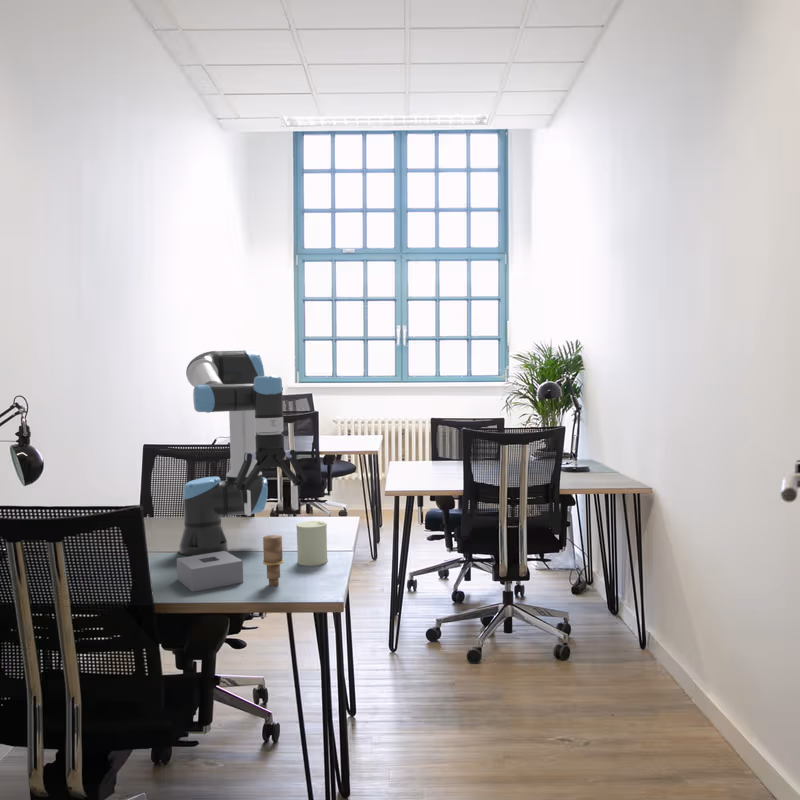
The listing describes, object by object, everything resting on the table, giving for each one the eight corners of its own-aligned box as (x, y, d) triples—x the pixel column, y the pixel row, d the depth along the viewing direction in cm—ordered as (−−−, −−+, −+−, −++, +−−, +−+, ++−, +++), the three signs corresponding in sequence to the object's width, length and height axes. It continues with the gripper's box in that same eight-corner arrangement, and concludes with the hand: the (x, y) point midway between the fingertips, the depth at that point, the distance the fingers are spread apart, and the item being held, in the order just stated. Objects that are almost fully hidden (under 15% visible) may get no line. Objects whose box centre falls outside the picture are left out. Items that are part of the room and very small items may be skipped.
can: (327, 565, 218) (326, 525, 217) (296, 566, 217) (295, 526, 217) (328, 557, 227) (327, 518, 226) (298, 558, 226) (297, 519, 226)
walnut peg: (279, 580, 203) (277, 533, 202) (287, 585, 198) (285, 537, 198) (260, 584, 200) (259, 536, 199) (268, 588, 195) (267, 540, 195)
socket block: (225, 571, 213) (225, 550, 213) (243, 582, 202) (242, 560, 202) (177, 579, 206) (176, 558, 206) (192, 591, 194) (191, 569, 194)
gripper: (229, 437, 187) (232, 519, 188) (317, 431, 201) (319, 508, 202) (219, 435, 194) (222, 515, 194) (305, 429, 207) (307, 504, 208)
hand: (271, 512), depth 198 cm, fingers open, 13 cm apart
